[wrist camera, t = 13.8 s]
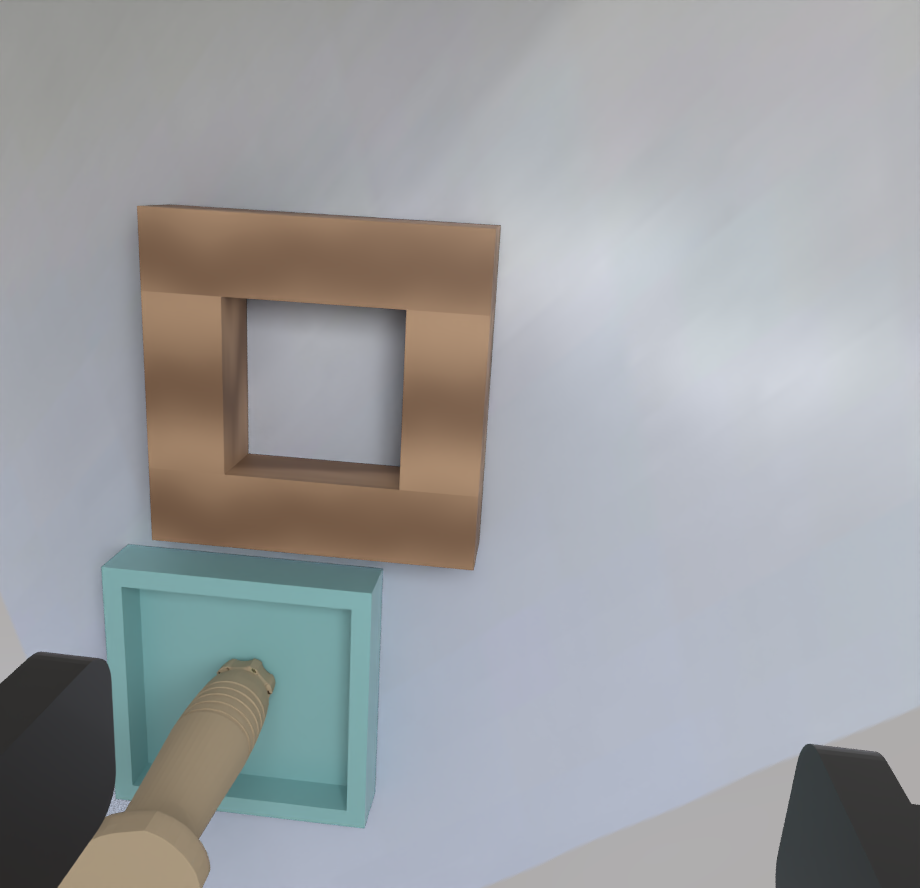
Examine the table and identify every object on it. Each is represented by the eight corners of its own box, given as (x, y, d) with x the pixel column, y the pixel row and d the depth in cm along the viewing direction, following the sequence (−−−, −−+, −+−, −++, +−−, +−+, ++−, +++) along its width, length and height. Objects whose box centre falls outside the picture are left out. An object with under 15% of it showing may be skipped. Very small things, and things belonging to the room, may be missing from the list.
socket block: (169, 204, 43) (137, 205, 39) (500, 225, 41) (496, 228, 38) (180, 514, 47) (152, 539, 44) (479, 542, 46) (473, 570, 42)
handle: (320, 684, 48) (223, 899, 34) (233, 739, 50) (105, 967, 35) (264, 617, 47) (141, 809, 33) (177, 675, 49) (23, 882, 34)
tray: (128, 544, 48) (101, 567, 45) (382, 568, 47) (371, 593, 44) (140, 765, 52) (115, 798, 49) (375, 792, 51) (364, 828, 48)
